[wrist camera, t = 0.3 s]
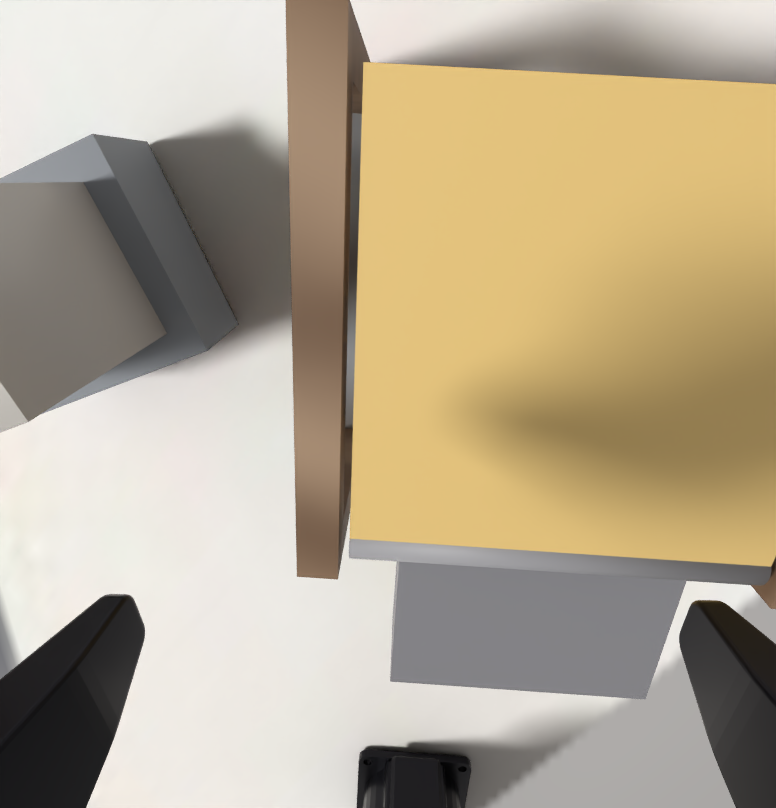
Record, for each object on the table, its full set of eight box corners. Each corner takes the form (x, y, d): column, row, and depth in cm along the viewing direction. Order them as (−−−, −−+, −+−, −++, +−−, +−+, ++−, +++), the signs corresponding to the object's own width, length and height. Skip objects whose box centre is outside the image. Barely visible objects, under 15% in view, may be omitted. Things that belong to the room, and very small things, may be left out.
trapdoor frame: (679, 468, 23) (812, 611, 15) (333, 446, 23) (297, 576, 16) (793, 97, 17) (1089, 35, 10) (338, 73, 18) (285, -7, 10)
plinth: (238, 324, 21) (207, 350, 18) (91, 381, 22) (37, 415, 19) (147, 141, 19) (92, 133, 15) (-13, 217, 20) (-94, 224, 17)
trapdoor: (652, 634, 21) (703, 732, 18) (355, 614, 22) (344, 706, 18) (824, 116, 14) (975, 93, 10) (375, 92, 14) (362, 61, 10)
